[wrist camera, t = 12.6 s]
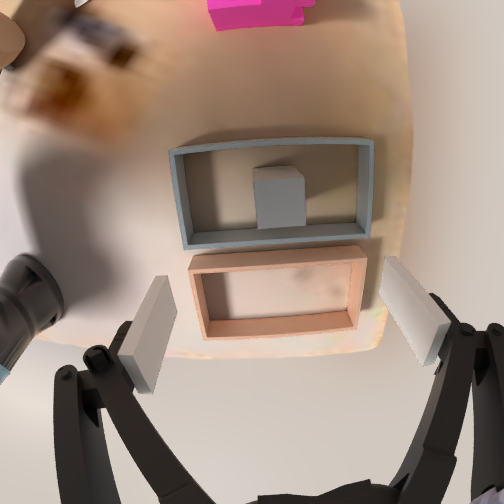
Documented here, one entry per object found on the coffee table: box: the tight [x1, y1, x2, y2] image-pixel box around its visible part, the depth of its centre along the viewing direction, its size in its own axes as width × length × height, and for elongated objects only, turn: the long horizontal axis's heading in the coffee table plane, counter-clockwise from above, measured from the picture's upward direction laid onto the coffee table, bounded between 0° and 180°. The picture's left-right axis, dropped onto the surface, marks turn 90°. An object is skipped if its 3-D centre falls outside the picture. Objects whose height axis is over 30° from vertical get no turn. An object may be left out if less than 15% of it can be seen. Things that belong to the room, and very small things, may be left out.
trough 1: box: [168, 137, 374, 250], centre depth 33 cm, size 23×12×4 cm, turn 94°
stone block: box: [253, 165, 306, 229], centre depth 32 cm, size 5×5×8 cm
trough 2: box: [188, 245, 368, 340], centre depth 40 cm, size 23×12×4 cm, turn 94°
